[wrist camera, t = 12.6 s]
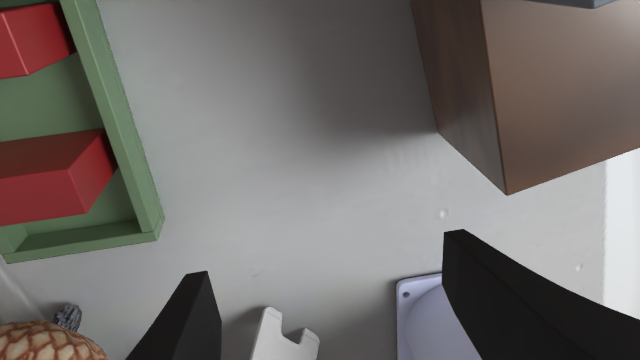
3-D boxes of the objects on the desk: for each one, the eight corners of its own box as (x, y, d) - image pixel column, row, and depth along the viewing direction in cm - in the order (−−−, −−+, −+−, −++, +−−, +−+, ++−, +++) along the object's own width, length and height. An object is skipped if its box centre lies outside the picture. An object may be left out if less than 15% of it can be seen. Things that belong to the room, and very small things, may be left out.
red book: (119, 165, 20) (87, 214, 16) (13, 181, 20) (-48, 234, 16) (106, 127, 19) (68, 168, 16) (-7, 142, 19) (-75, 188, 15)
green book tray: (165, 218, 23) (157, 241, 21) (27, 239, 22) (6, 264, 20) (56, -123, 16) (29, -135, 14) (-151, -104, 15) (-207, -114, 13)
